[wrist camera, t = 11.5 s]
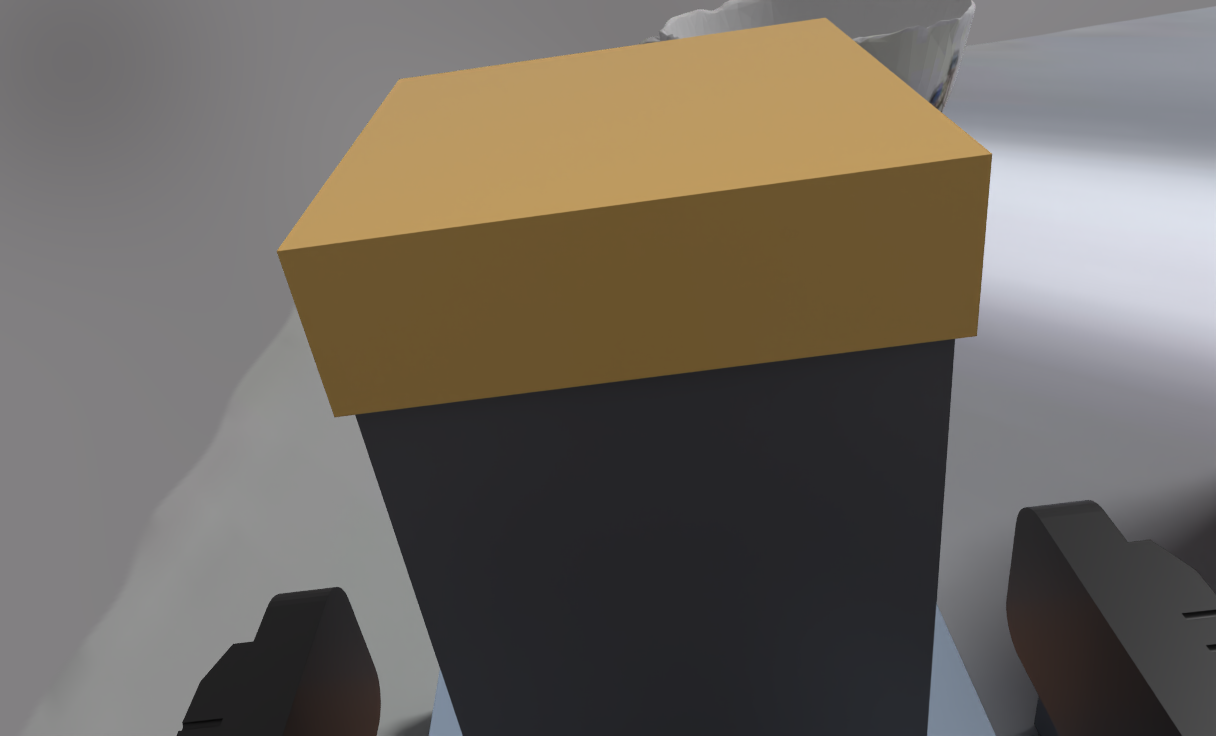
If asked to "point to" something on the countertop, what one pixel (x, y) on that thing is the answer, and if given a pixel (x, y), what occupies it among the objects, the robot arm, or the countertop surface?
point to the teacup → (859, 32)
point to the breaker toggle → (659, 377)
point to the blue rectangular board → (953, 705)
